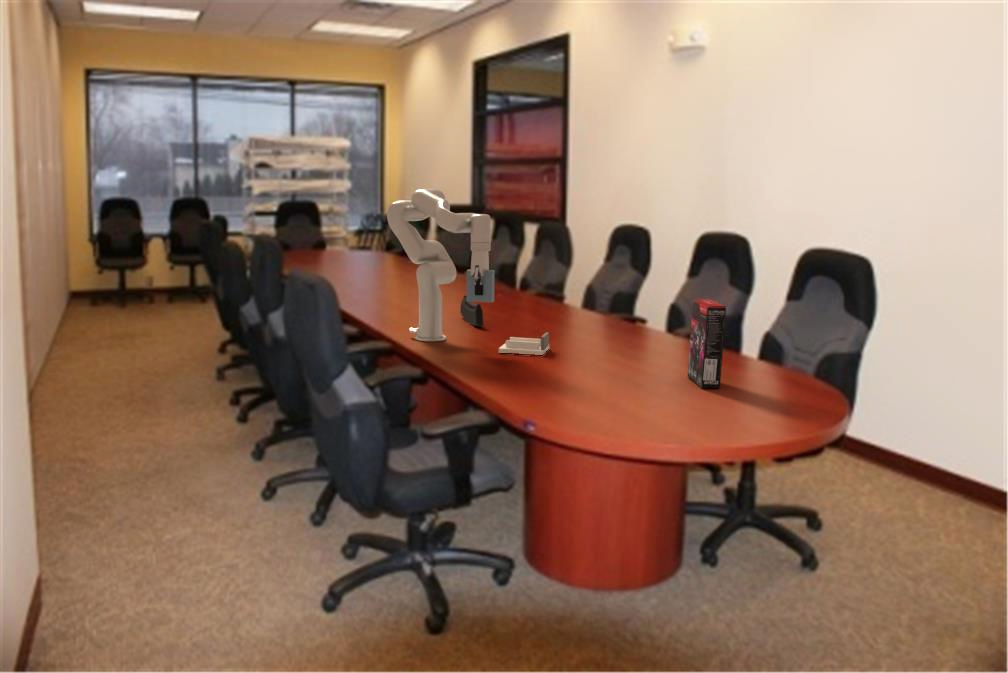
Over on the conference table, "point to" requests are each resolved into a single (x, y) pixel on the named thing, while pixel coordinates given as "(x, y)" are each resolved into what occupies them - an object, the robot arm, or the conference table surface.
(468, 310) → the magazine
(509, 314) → the conference table surface
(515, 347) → the cream railed panel
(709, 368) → the graphics card box
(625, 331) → the conference table surface
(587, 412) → the conference table surface
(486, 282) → the gray rectangular block
